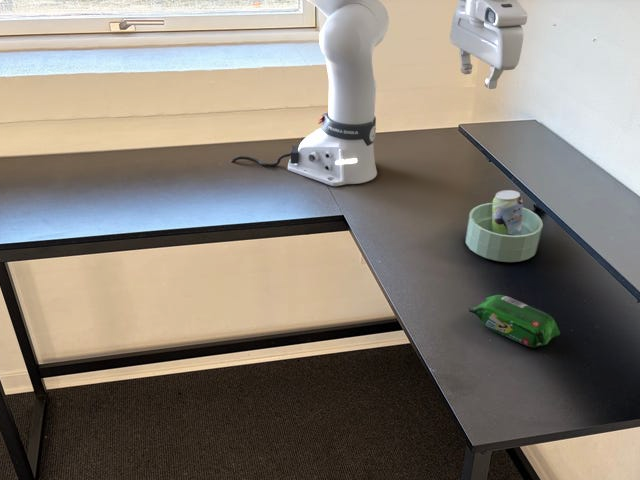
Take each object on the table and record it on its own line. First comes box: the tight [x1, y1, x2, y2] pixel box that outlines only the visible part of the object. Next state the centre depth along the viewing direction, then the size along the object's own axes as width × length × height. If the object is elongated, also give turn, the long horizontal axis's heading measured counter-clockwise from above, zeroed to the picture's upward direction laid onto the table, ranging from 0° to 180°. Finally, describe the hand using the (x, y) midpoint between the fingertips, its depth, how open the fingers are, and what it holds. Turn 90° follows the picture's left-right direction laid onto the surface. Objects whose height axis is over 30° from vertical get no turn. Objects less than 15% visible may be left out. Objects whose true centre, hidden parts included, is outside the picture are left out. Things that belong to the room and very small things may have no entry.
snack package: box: [468, 294, 561, 348], centre depth 130 cm, size 7×16×5 cm, turn 52°
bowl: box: [465, 202, 544, 263], centre depth 155 cm, size 15×15×6 cm
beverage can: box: [492, 189, 524, 236], centre depth 152 cm, size 6×7×12 cm
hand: (477, 80), depth 145 cm, fingers open, 8 cm apart
